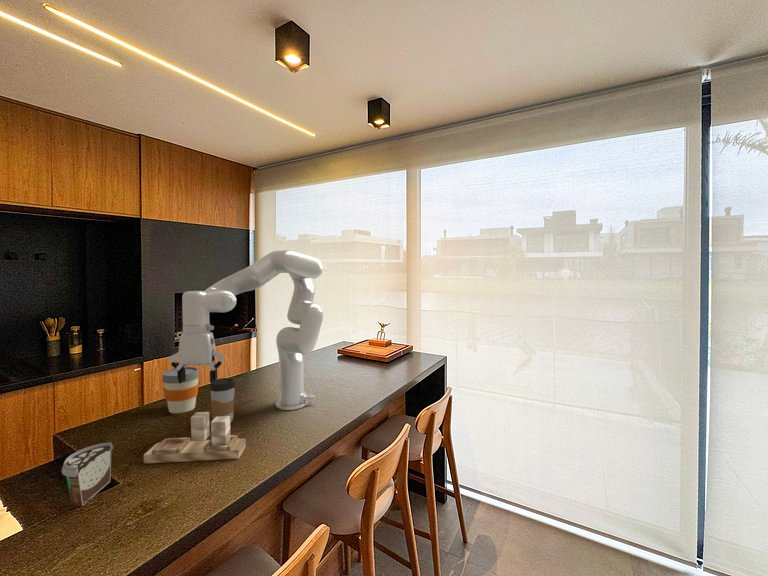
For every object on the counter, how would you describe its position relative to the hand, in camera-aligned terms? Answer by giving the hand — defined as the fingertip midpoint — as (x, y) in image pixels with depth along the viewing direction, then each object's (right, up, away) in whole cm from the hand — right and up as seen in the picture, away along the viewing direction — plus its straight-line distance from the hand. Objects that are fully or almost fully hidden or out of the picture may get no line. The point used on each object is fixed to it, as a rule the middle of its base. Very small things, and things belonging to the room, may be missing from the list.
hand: (197, 381), depth 112 cm
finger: (+1, -19, +1) cm, 19 cm away
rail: (+5, -19, -9) cm, 22 cm away
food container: (-14, -21, -27) cm, 36 cm away
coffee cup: (+2, -18, +13) cm, 22 cm away
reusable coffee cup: (-19, -18, +25) cm, 36 cm away
